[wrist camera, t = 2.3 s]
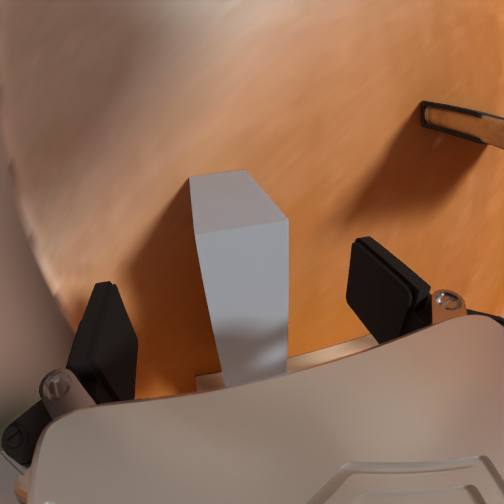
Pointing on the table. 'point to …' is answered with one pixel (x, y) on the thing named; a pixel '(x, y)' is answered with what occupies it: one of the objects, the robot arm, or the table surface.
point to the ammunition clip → (464, 123)
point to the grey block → (243, 273)
